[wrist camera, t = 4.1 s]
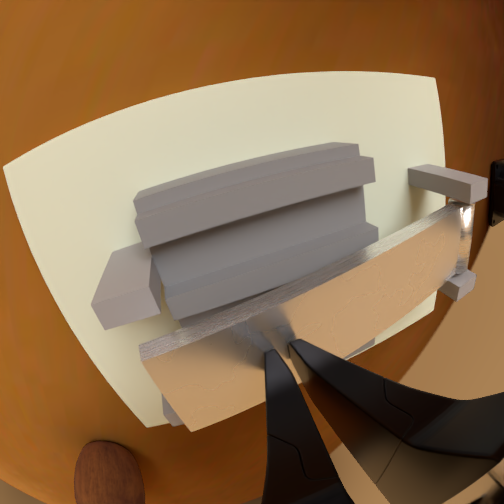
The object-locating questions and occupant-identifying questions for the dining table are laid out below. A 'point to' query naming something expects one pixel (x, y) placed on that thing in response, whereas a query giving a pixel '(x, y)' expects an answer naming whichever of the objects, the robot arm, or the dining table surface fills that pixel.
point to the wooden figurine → (107, 475)
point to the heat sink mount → (227, 204)
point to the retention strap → (307, 317)
